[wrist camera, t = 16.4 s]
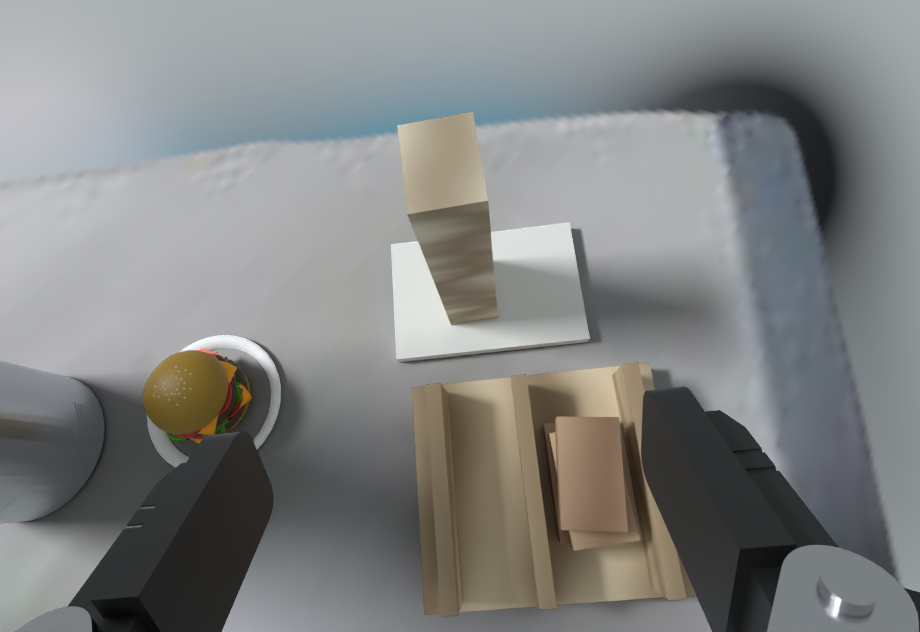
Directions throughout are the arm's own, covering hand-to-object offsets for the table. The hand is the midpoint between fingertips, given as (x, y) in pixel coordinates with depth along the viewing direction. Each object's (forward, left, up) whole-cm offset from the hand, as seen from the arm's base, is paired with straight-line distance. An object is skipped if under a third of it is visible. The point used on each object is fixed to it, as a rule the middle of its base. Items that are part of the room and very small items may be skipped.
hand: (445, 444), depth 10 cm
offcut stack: (+5, -1, -19) cm, 20 cm away
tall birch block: (0, +11, -20) cm, 22 cm away
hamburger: (-17, +6, -21) cm, 28 cm away
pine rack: (+3, -1, -20) cm, 21 cm away
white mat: (+1, +11, -20) cm, 23 cm away
